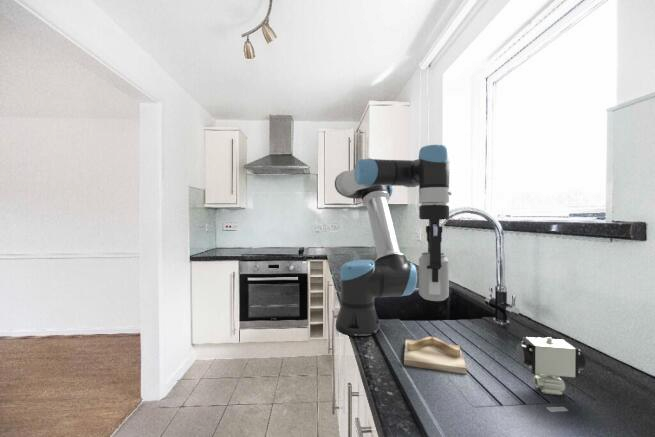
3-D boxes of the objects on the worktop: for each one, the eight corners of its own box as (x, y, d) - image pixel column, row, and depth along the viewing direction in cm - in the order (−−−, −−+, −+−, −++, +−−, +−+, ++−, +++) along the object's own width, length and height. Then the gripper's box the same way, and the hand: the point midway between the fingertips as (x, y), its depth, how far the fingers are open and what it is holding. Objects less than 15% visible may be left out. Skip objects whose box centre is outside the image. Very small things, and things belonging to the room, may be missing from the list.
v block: (405, 344, 89) (405, 332, 89) (459, 350, 85) (459, 338, 84) (404, 365, 76) (404, 351, 76) (466, 374, 72) (466, 360, 72)
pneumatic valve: (586, 400, 62) (586, 344, 62) (524, 393, 64) (525, 339, 64) (570, 385, 67) (570, 333, 67) (514, 379, 70) (514, 330, 69)
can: (425, 292, 83) (425, 250, 83) (452, 297, 78) (452, 252, 78) (414, 298, 77) (414, 253, 77) (443, 303, 73) (443, 255, 72)
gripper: (453, 203, 67) (453, 302, 67) (445, 205, 86) (445, 282, 86) (419, 203, 69) (419, 299, 69) (418, 205, 88) (418, 280, 89)
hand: (433, 290), depth 78 cm, fingers closed on can, 7 cm apart
